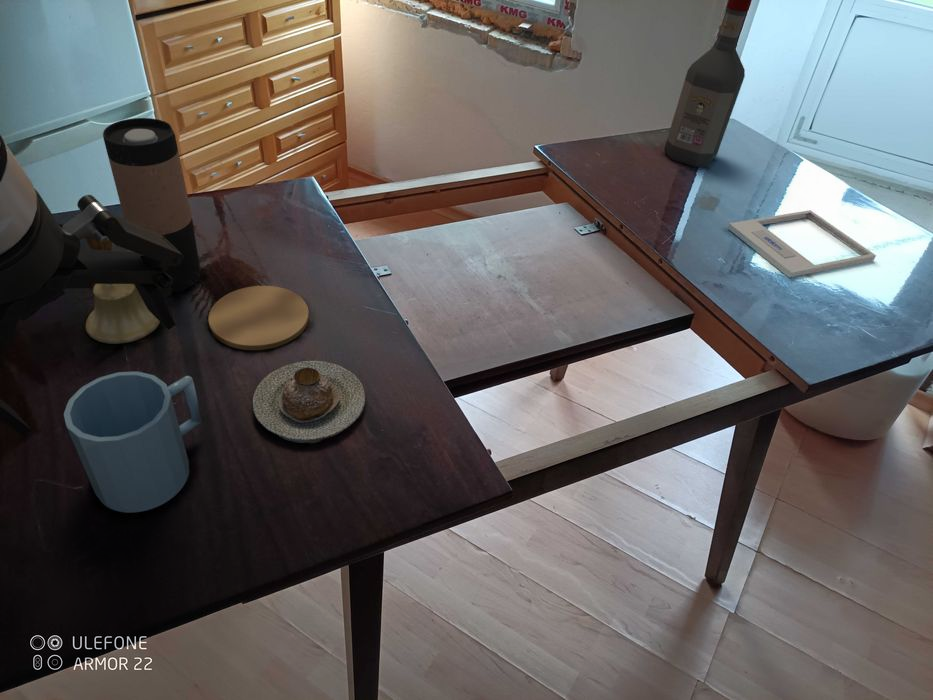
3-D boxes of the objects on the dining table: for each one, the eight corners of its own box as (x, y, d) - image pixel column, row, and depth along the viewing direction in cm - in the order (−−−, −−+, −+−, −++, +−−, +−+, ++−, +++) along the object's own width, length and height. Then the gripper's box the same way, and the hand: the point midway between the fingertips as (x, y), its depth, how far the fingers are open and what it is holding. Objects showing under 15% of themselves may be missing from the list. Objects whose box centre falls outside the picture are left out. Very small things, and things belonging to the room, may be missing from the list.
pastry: (232, 399, 75) (226, 368, 72) (323, 354, 82) (321, 324, 79) (294, 465, 69) (291, 434, 66) (387, 410, 76) (388, 380, 73)
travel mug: (128, 285, 88) (85, 136, 75) (164, 255, 94) (131, 112, 81) (180, 299, 87) (146, 151, 74) (214, 268, 92) (188, 125, 79)
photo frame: (729, 222, 113) (810, 209, 119) (727, 228, 114) (808, 214, 120) (792, 271, 103) (876, 254, 109) (789, 277, 104) (873, 260, 110)
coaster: (187, 328, 83) (186, 323, 82) (252, 279, 91) (251, 275, 91) (268, 363, 80) (267, 358, 79) (327, 309, 88) (327, 304, 88)
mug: (130, 528, 62) (102, 457, 55) (76, 480, 65) (43, 407, 59) (232, 454, 69) (217, 383, 63) (178, 414, 73) (159, 343, 66)
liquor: (705, 171, 130) (764, -1, 110) (659, 156, 133) (709, -13, 113) (718, 155, 136) (777, -10, 116) (674, 141, 139) (724, -22, 119)
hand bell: (173, 326, 83) (144, 209, 72) (103, 354, 78) (62, 233, 68) (143, 293, 87) (111, 178, 77) (74, 317, 82) (31, 199, 72)
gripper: (-239, 411, 32) (-23, 506, 51) (197, 144, 42) (242, 306, 61) (-324, 308, 33) (-82, 438, 53) (119, 73, 44) (187, 253, 63)
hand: (93, 367), depth 57 cm, fingers open, 13 cm apart
